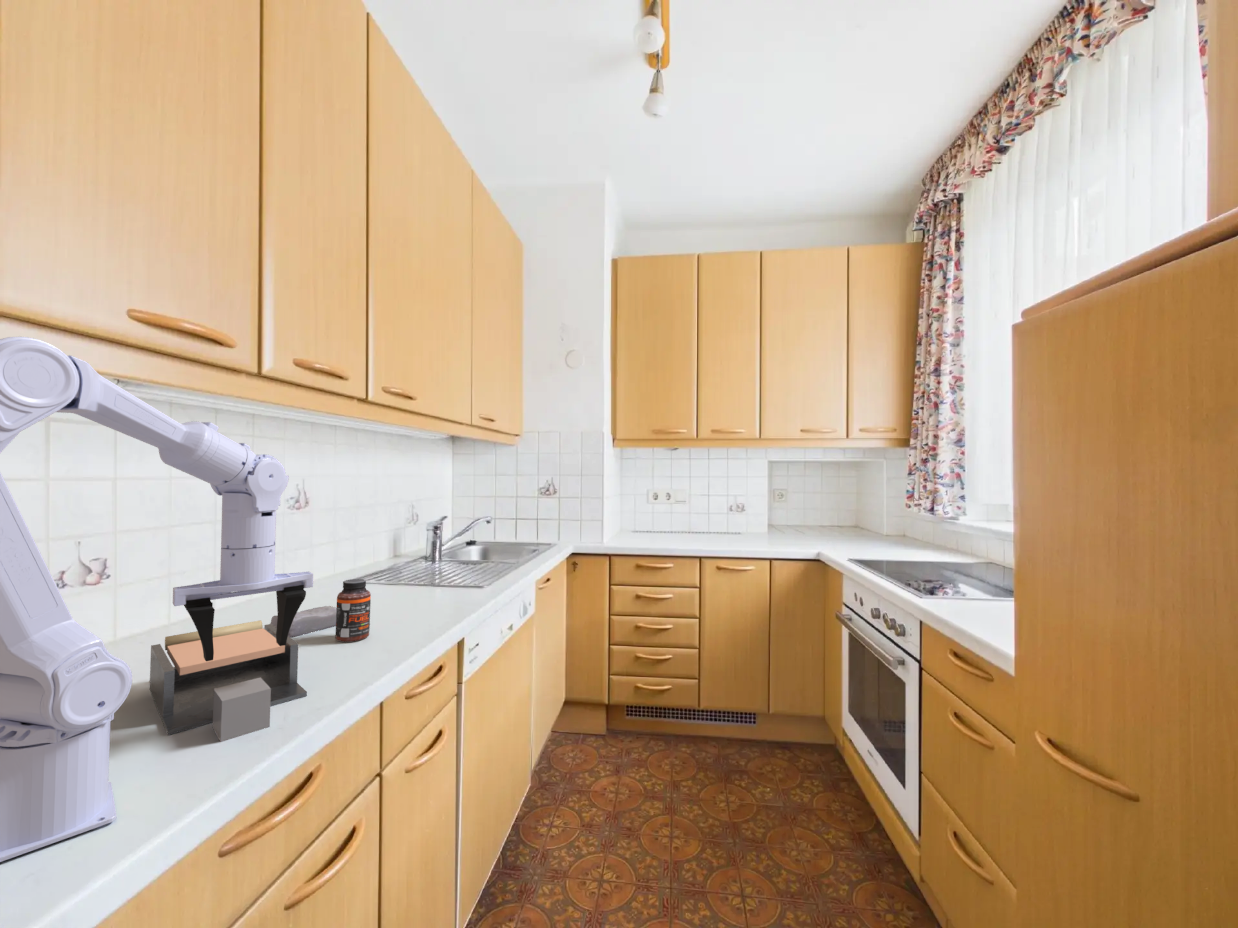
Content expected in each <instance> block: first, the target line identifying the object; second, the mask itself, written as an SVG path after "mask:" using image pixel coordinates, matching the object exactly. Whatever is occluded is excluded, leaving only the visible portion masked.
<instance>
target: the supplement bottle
mask: <svg viewBox="0 0 1238 928" xmlns="http://www.w3.org/2000/svg"><path fill="white" fill-rule="evenodd" d="M342 582H343V583H342V590H341V591H340V592H339V593H338V594H337V596H336V608H337V609H336V626H335V639H336V641H338V642H342V643H353V642H354V643H355V642H359V641H362V640H365V639H367V637H369V635H370V629H371V628H370V627H371V626H370V625H371V621H370V620H371V604H372V603H371V597H372V595H371V594H372V593H371V592H370V591H369V590H368V589H367V588H366V587H367V585H366V584H367V580H366V579H365V578H350V579H346V580H344V581H342Z"/></svg>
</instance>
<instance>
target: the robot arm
mask: <svg viewBox="0 0 1238 928" xmlns="http://www.w3.org/2000/svg"><path fill="white" fill-rule="evenodd" d="M55 413H63V414H64V413H65V414H66V413H67V414H69V413H70V414H75V415H78V416H80V417H82V418H85V419H87V420H90V421H92V422H94V423H97V424H100V425H102V426H104V427H106V428H109V429H111V430H114V431H117V432H119V433H121V434H123V435H126V436H128V437H131V438H133V439H136V440H138V441H140V442H143V443H146V444H148V445H150V446H153V447H155V448H157V449H158V454H159V457H160V459H161V461H162V463H163V464H165V465H168V466H170V467H172V468H174V469H176V470H179V471H181V472H183V473H185V474H188V475H189V476H192V477H193V478H197V479H199V480H201V481H204V482H206V483H208V484H210V486H211V488H212V490H213V492H214V493H215V494H216V495H218V496H221V536H220V538H221V540H220V545H221V546H220V568H219V569H220V573H219V579H218V580H214V581H213V580H212V581H207V582H201V583H196V584H189V585H181V586H174V587H172V604H173V607H180V606H184V608H185V610H186V612H187V613H188V615H189V616H190V618H191V620H192V622H193V624H194V626H195V628H196V631H198V634H199V637H200V640H201V643H202V647H203V654H204V659H205V661H211V660H213V656H214V648H213V628H214V620H215V611H216V610H215V607H213V606H214V603H213V601H215V600H222V599H229V598H235V597H244V596H251V595H256V594H264V593H265V594H266V593H271V592H275V593H276V594H275V595H276V608H277V609H276V611H277V616H278V619H277V630H276V643H277V644H278V645H279V646H284V645H286V642H287V637H288V634H289V630H290V627H291V624H292V622H293V619H294V617H295V615H296V613H297V612H299V611H298V610H300V607H301V606H302V603H303V602H304V601H305V599H306V596H307V590H305V589H309V588H313V587H314V573H313V572H311V571H300V572H286V573H284V572H283V573H276V572H275V571H276V542H277V541H276V539H277V538H276V537H277V533H276V532H277V531H276V530H277V510H279V506H280V507H281V499H282V498H281V497H282V495H283V493H284V492H285V490H286V489H287V487H288V483H289V480H290V477H289V474H288V475H287V474H286V473H287V472H286V469H285V467H284V465H283V464H282V462H280V461H279V460H278V459H277V457H274V456H273V455H270V454H265V453H264V454H262V453H261V454H258V453H257V454H256V453H255V452H254V451H253V450H252V449H251V446H250V445H248V444H247V443H245V442H237V441H235V440H233V439H232V438H230V437H228V436H226V435H224V434H222V433H221V432H219V431H218V430H219V428H220V427H219V426H218V425H217V424H215V423H213V422H211V421H207V422H206V421H197V420H196V421H195V420H193V421H192V420H190V421H187V422H186V421H185V422H183V423H180V422H179V421H177V420H176V419H175V418H174V419H173V418H172V417H171V416H169V415H168V414H165V413H164V412H163V411H160V410H159V409H158V408H156V407H154V406H152V405H151V404H148V403H147V402H146V401H144V400H143V399H141V398H139V397H137V396H136V395H134V394H132V393H131V392H129V391H127V389H124V388H122V387H121V386H119V385H118V384H116V383H114V382H112V381H110V380H109V379H107V378H106V377H104V376H102V375H101V374H99V372H98V371H96V369H94V368H93V366H92V365H91V364H90V363H89V362H87V361H85V360H84V359H80V358H79V357H75V356H73V355H70V354H69V355H67V354H66V353H65V352H64V351H62V350H61V349H60V348H58V347H57V346H55V345H53V344H51V343H49V342H47V341H45V340H41V339H38V338H34V337H29V336H7V337H2V338H0V454H1V453H2V452H3V451H4V450H5V449H6V448H7V447H8V446H9V444H10V443H11V442H13V440H14V439H15V438H16V437H18V435H19V434H20V433H21V432H22V431H24V430H26V429H28V428H30V427H31V426H33V425H35V424H37V423H38V422H40V421H43V420H45V419H46V418H47V417H49V416H52V415H53V414H55ZM212 600H213V601H212ZM132 683H133V673H132V669H131V667H130V666H129V665H128V663H127V662H126V661H124V660H123V659H122V658H119V657H118V656H115V655H113V654H111V653H110V652H109V650H108V649H107V648H106V646H105V644H104V642H103V640H102V639H101V638H100V637H99V636H97V635H96V634H94V633H93V632H91V631H90V630H89V629H87V628H86V627H85V626H83V625H81V624H80V623H78V622H77V621H76V620H75V619H74V618H73V616H72V614H71V612H70V610H69V608H68V606H67V604H66V602H65V600H64V598H63V596H62V593H61V592H60V590H59V587H58V586H57V584H56V582H55V579H54V578H53V576H52V574H51V572H50V570H49V568H48V566H47V563H46V561H45V560H44V557H43V555H42V554H41V551H40V550H39V547H38V545H37V543H36V542H35V539H34V537H33V535H32V533H31V531H30V528H29V527H28V525H27V523H26V521H25V519H24V517H23V515H22V513H21V511H20V509H19V507H18V505H17V503H16V500H15V499H14V497H13V495H12V493H11V491H10V489H9V486H8V484H7V482H6V481H5V478H4V477H3V474H2V472H1V471H0V863H2V862H4V861H7V860H10V859H13V858H15V857H18V856H21V855H24V854H27V853H29V852H32V851H35V850H39V849H41V848H43V847H46V846H49V845H52V844H54V843H58V842H60V841H63V840H66V839H68V838H69V839H70V838H72V837H74V836H77V835H80V834H83V833H86V832H88V831H90V830H91V831H92V830H94V829H96V828H100V827H102V826H105V825H108V824H110V823H113V822H114V821H115V820H116V819H117V810H116V803H115V798H114V791H113V785H112V782H111V781H110V779H109V776H110V774H109V773H110V750H111V749H110V743H111V741H110V740H111V721H113V720H114V719H115V713H116V712H117V711H118V710H119V709H120V707H121V706H122V705H123V704H124V702H125V701H126V699H127V698H128V696H129V694H130V692H131V689H132Z"/></svg>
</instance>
